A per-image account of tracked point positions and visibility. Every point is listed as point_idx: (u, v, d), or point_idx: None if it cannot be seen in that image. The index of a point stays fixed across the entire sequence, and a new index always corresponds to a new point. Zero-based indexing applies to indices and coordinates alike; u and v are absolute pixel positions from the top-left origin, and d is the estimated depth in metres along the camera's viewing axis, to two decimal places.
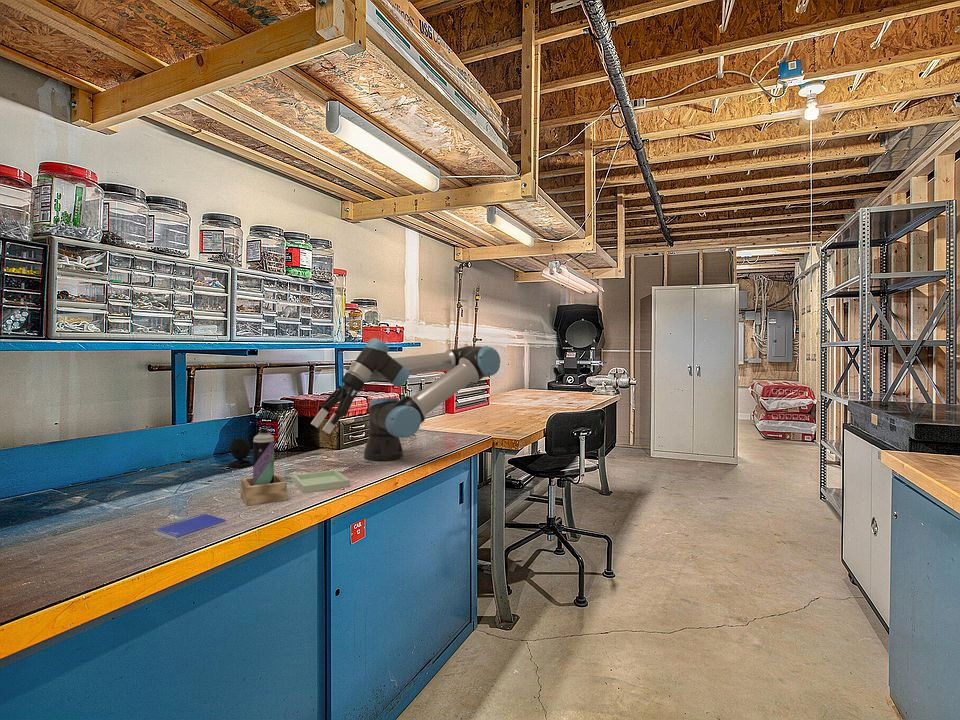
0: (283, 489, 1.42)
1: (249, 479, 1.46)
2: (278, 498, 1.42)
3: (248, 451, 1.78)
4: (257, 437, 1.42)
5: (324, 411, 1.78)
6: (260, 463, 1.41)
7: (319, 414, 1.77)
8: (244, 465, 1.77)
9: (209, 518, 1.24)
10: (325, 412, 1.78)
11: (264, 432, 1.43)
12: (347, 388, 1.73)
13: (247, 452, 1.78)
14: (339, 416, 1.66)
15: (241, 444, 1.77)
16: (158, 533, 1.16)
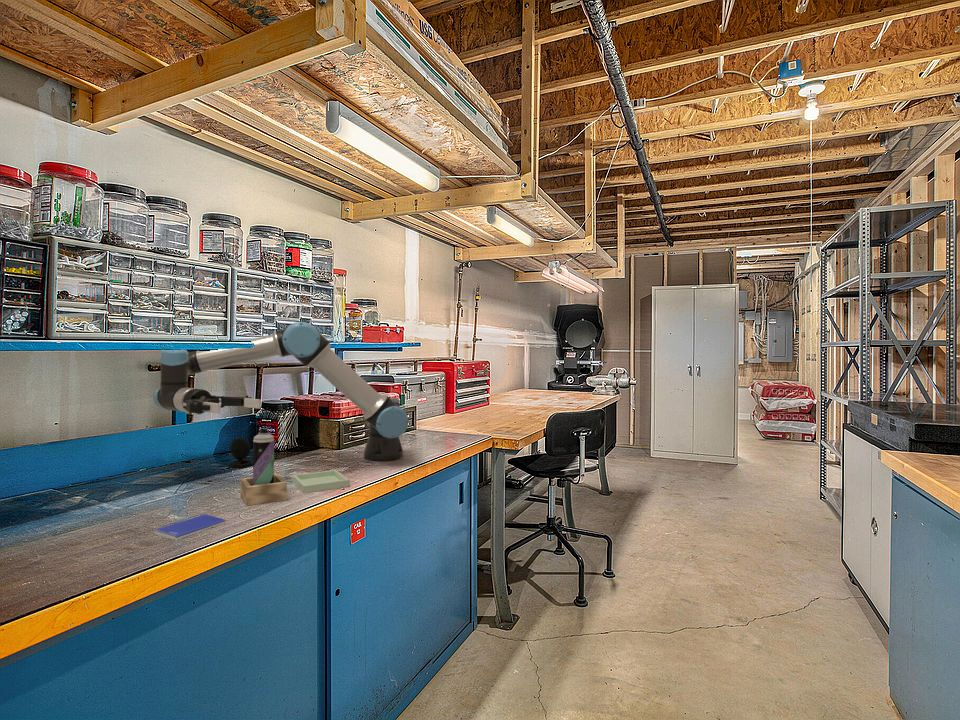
0: (283, 489, 1.42)
1: (249, 479, 1.46)
2: (278, 498, 1.42)
3: (248, 451, 1.78)
4: (257, 437, 1.42)
5: (245, 402, 1.56)
6: (260, 463, 1.41)
7: (249, 406, 1.55)
8: (244, 465, 1.77)
9: (208, 518, 1.24)
10: (245, 401, 1.56)
11: (264, 432, 1.43)
12: None
13: (247, 452, 1.78)
14: (199, 406, 1.43)
15: (241, 444, 1.77)
16: (158, 533, 1.16)
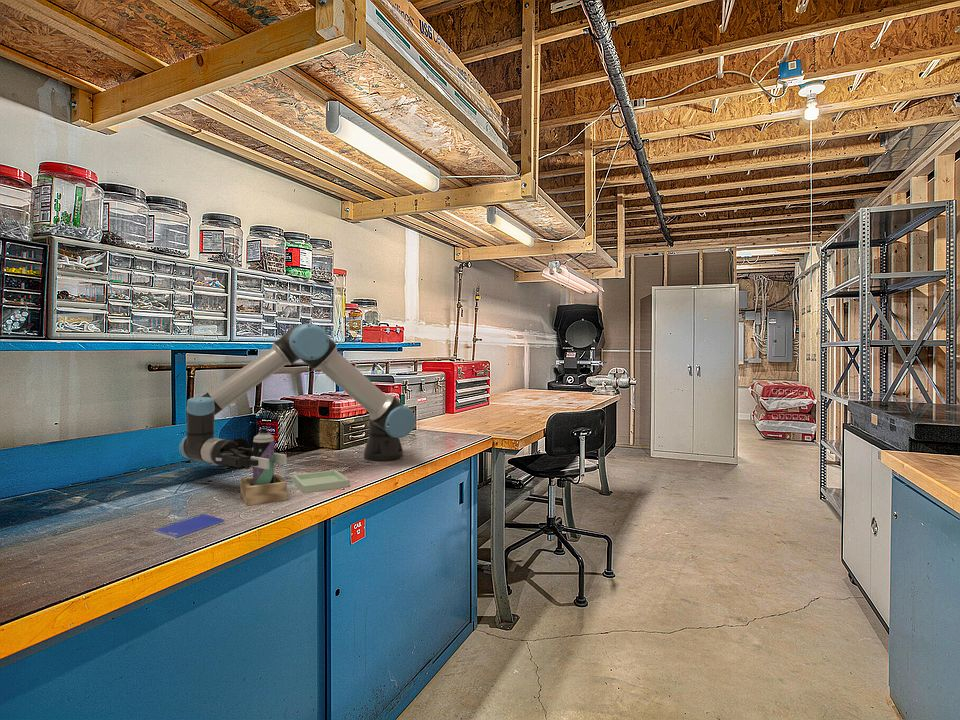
0: (283, 489, 1.42)
1: (249, 479, 1.46)
2: (278, 498, 1.42)
3: None
4: (257, 437, 1.42)
5: None
6: None
7: (274, 461, 1.46)
8: None
9: (207, 518, 1.24)
10: None
11: (264, 432, 1.43)
12: None
13: None
14: (246, 461, 1.40)
15: (241, 444, 1.77)
16: (157, 534, 1.16)
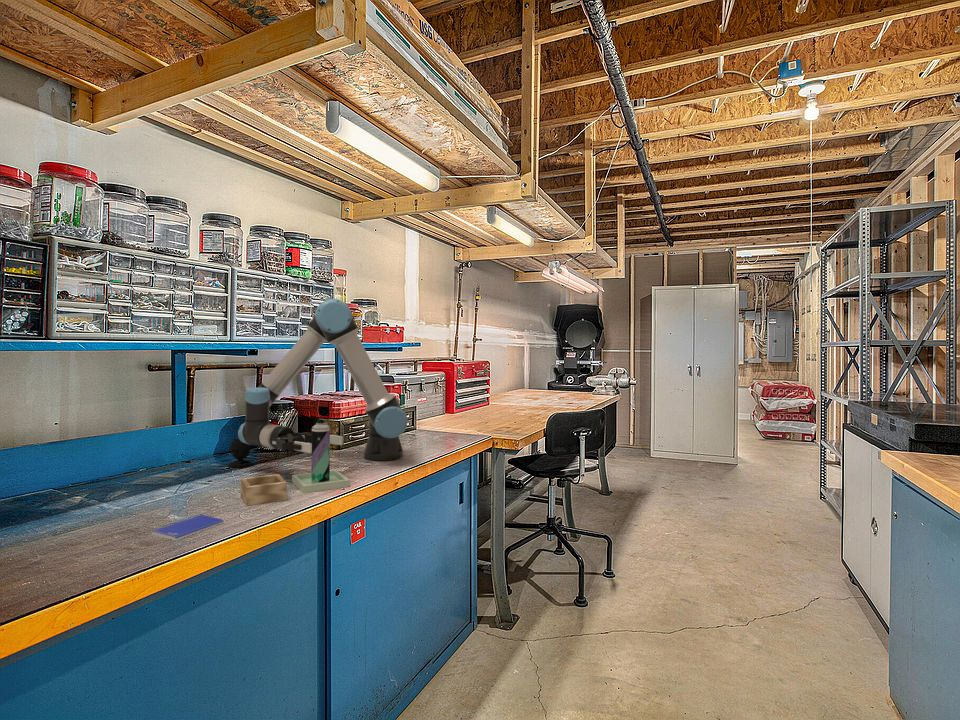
0: (283, 489, 1.42)
1: (249, 479, 1.46)
2: (278, 498, 1.42)
3: (248, 451, 1.78)
4: (315, 427, 1.57)
5: None
6: (319, 450, 1.56)
7: (331, 442, 1.65)
8: (244, 465, 1.77)
9: (206, 519, 1.24)
10: None
11: (321, 422, 1.58)
12: None
13: (247, 452, 1.78)
14: (290, 446, 1.53)
15: (241, 444, 1.77)
16: (156, 534, 1.15)
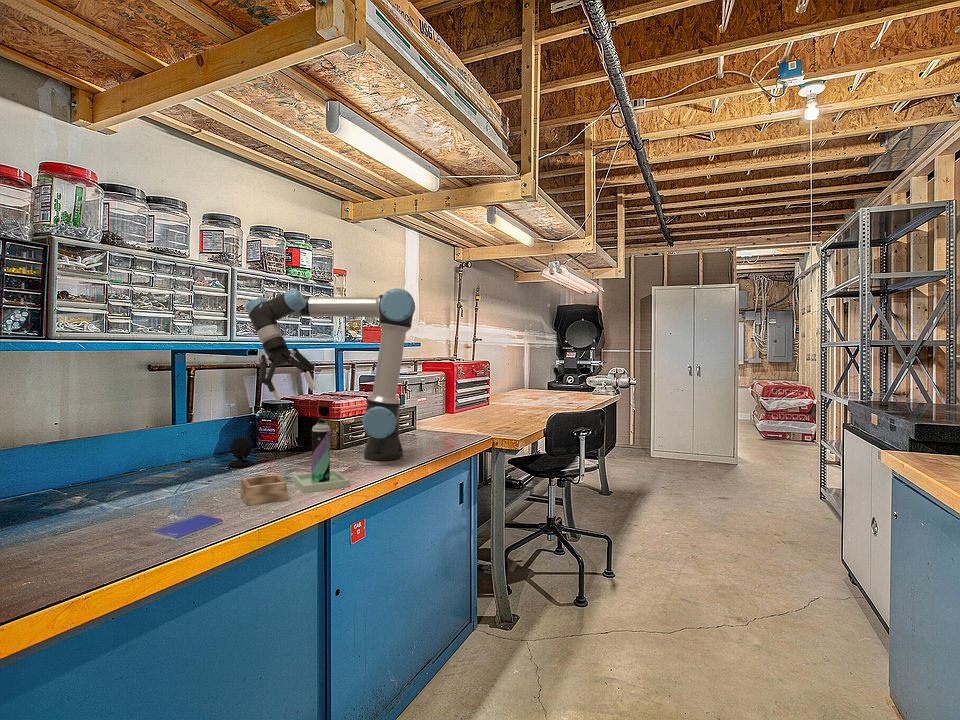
0: (283, 489, 1.42)
1: (249, 479, 1.46)
2: (278, 498, 1.42)
3: (250, 450, 1.79)
4: (316, 427, 1.57)
5: (305, 374, 1.82)
6: (319, 450, 1.56)
7: (306, 379, 1.83)
8: (246, 464, 1.77)
9: (205, 519, 1.24)
10: (306, 374, 1.82)
11: (322, 422, 1.58)
12: None
13: (249, 451, 1.78)
14: (267, 383, 1.71)
15: (243, 443, 1.78)
16: (156, 535, 1.15)
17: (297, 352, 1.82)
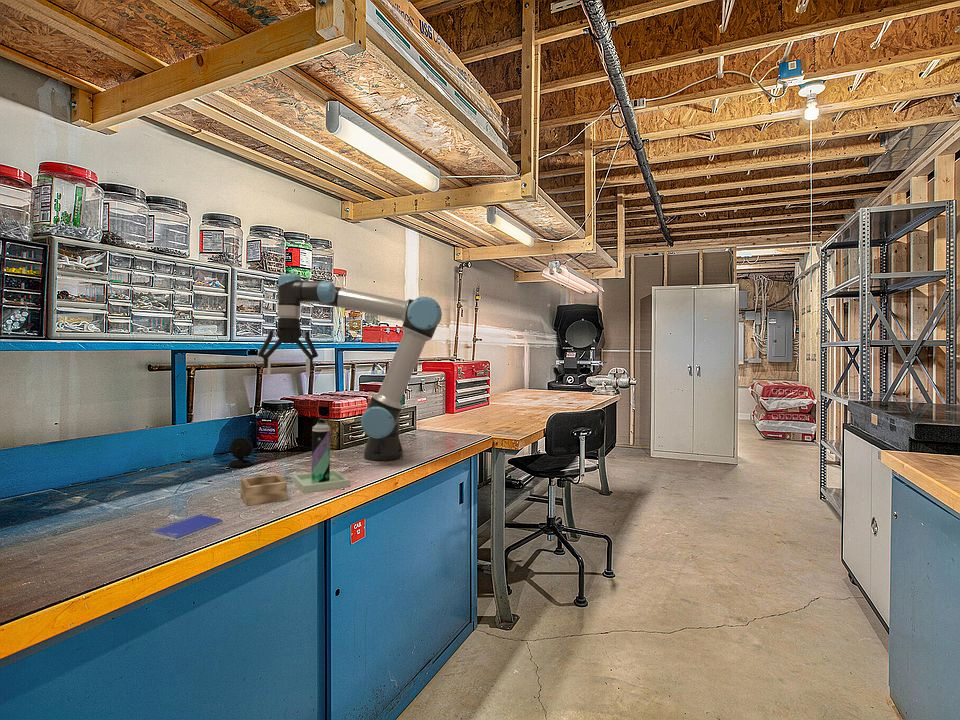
0: (283, 489, 1.42)
1: (249, 479, 1.46)
2: (278, 498, 1.42)
3: (251, 450, 1.79)
4: (316, 427, 1.57)
5: (306, 360, 1.86)
6: (319, 450, 1.56)
7: (306, 365, 1.87)
8: (247, 464, 1.78)
9: (205, 519, 1.24)
10: (307, 360, 1.85)
11: (322, 422, 1.58)
12: None
13: (250, 451, 1.79)
14: None
15: (244, 443, 1.78)
16: (155, 535, 1.15)
17: (307, 337, 1.84)
